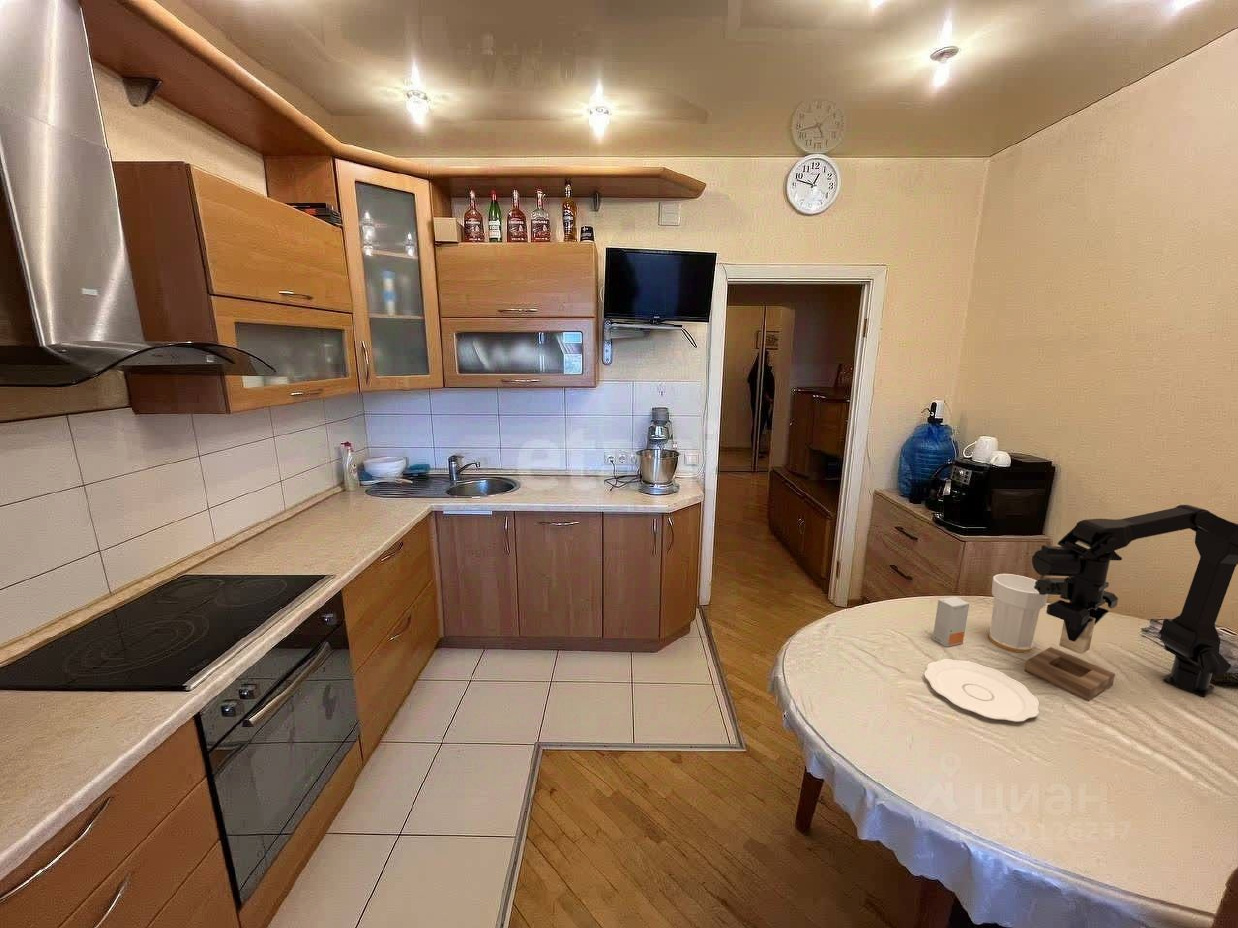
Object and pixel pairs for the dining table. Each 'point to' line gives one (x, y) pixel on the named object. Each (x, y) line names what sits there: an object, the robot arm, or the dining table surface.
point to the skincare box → (950, 621)
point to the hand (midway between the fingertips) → (1076, 637)
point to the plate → (982, 690)
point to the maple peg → (1082, 642)
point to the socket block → (1070, 673)
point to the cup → (1015, 612)
